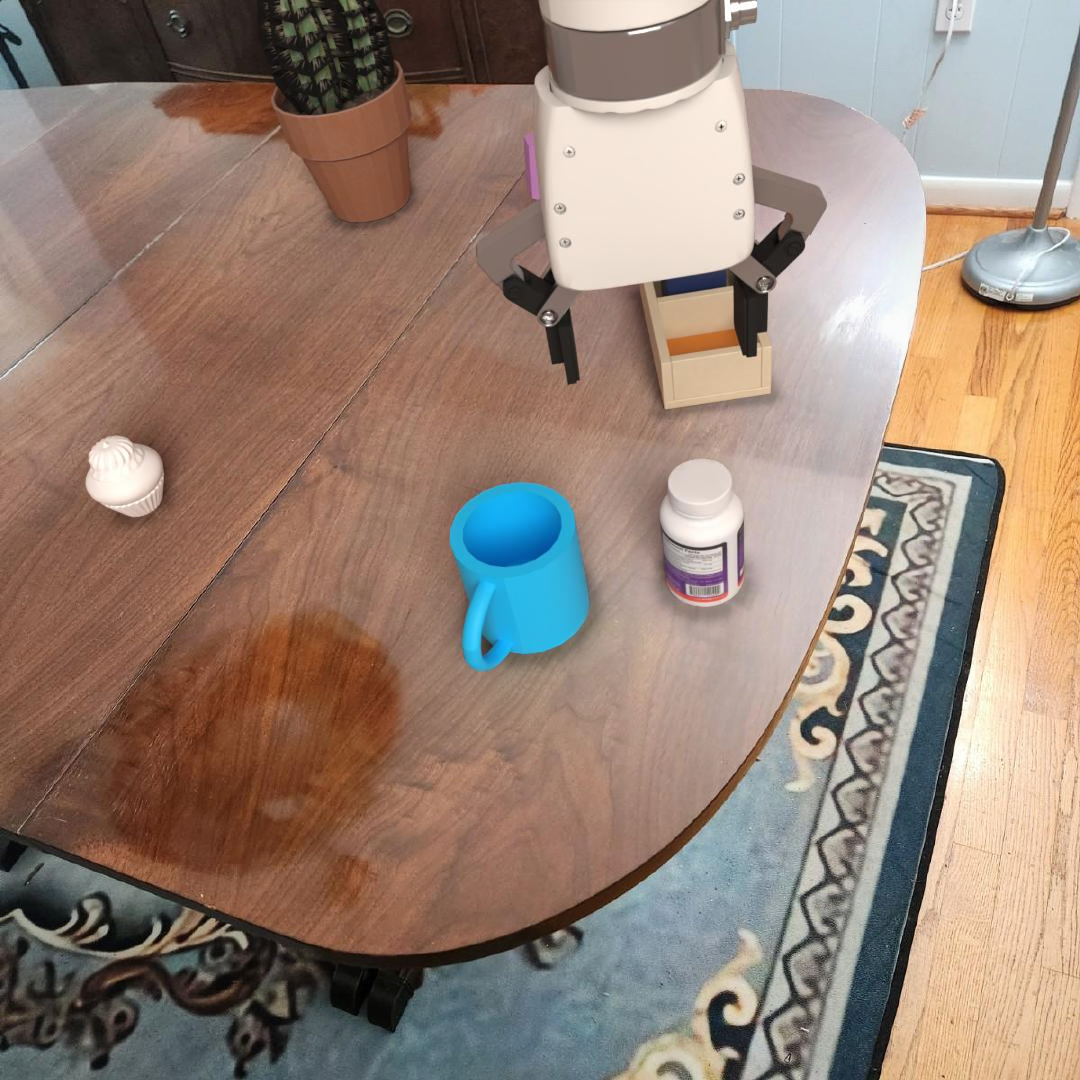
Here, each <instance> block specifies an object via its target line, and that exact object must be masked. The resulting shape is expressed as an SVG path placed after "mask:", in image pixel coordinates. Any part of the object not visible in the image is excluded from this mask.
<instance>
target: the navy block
mask: <svg viewBox="0 0 1080 1080" xmlns="http://www.w3.org/2000/svg"><path fill="white" fill-rule="evenodd" d="M722 287H727V279H726V269H723V270H719V271H714V272H709V273H703V274H697V275H690V276H684V277H678V278H672V279H665V280H661V290H662V297H665V296H671V295H678V294H684V293H690V292H697V291H703V290H709V289H715V288H722Z"/></svg>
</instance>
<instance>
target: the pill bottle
mask: <svg viewBox="0 0 1080 1080" xmlns="http://www.w3.org/2000/svg"><path fill="white" fill-rule="evenodd" d="M659 526H660V535H661V543H662V545H661V546H662V552H663V553H662V554H663V564H664V565H663V566H664V576H665V581H666V582H665V583H666V585H667V587H668V590H669V591H670V592H671V593H672V595H673V596H674V597H675V598H677V599H678V600H679V601H681V602H682V603H685V604H687V605H690V606H694V607H703V608H706V607H707V608H708V607H709V608H710V607H715V606H718V605H721V604H723V603H726V602H728V601H729V600H731V599H732V598H734V597H735V596H736V595H737V594H738V592H739V591H740V589H741V587H742V586H743V583H744V580H745V511H744V505H743V501H742V499H741V497H740V496H739V494H738V493H737V492H736V491H735V490H734V488H733V476H732V473H731V472H730V470H729V469H728V468H727V467H726V465H724V464H723V463H722V462H720V461H717V460H715V459H710V458H700V457H699V458H693V459H688V460H686V461H684V462H682V463H680V464H678V465H676V466H675V467H674V468H673V469H672V470H671V472H670V473H669V476H668V478H667V494H666V495H665V496H664V498H663V500H662V501H661V504H660V507H659Z"/></svg>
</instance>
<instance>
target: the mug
mask: <svg viewBox="0 0 1080 1080" xmlns="http://www.w3.org/2000/svg"><path fill="white" fill-rule="evenodd" d="M449 546H450V549H451V552H452V555H453V558H454V561H455V564H456V566H457V569H458V573H459V576H460V578H461V579H460V580H461V582H462V585H463V588H464V591H465V594H466V597H467V600H468V607H467V609H466V614H465V619H464V623H463V628H462V639H461V646H462V654H463V659H464V661H465V662H466V663H467V665H468V666H469V668H470V669H472V670H473V671H477V672H489V671H492V670H493V669H495V668H497V667H498V666H500V665H501V663H502V662H503V661H504V660H505V659H506V658H507V656H509V654H510V653H514V654H521V655H530V654H537V653H543V652H547V651H550V650H551V649H554V648H556V647H559V646H561V645H563V644H564V643H566V642H567V641H568V640H569V639H571V638H572V637H573V636H575V635H577V633H578V631H579V630H580V628H581V627H582V625H583V624H584V623H585V622H586V619H587V616H588V613H589V609H590V606H591V602H590V593H589V586H588V581H587V576H586V572H585V565H584V560H583V555H582V549H581V544H580V538H579V533H578V528H577V522H576V517H575V512H574V510H573V508H572V506H571V505H570V503H569V501H568V499H567V498H565V497H564V496H563V495H561V494H560V493H559V492H558V491H556V490H555V489H553V488H551V487H548V486H545V485H542V484H540V483H533V482H523V481H522V482H521V481H518V482H510V483H503V484H500V485H497V486H494V487H491V488H488V489H486V490H483V491H482V492H479V494H477V495H475V496H474V497H473V498H470V499H469V500H468V501H467V502H466V503H465V504H464V505H463V506H462V508H461V509H460V510H459V511H458V512H457V513H456V514H455V516H454V519H453V522H452V523H451V526H450V528H449ZM482 636H483V637H484V638H485V639H486V640H487V642H489V643H490V644H491V645H492V647H491V648H490V649H489V650H488V651H487V652H486V653H485V654H484V655H483V654H482Z"/></svg>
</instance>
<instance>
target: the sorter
mask: <svg viewBox="0 0 1080 1080" xmlns="http://www.w3.org/2000/svg"><path fill="white" fill-rule="evenodd" d="M726 279H727V287H722V288H715V289H709V290H703V291H697V292H690V293H684V294H678V295H671V296H665V297H662V290H661V280H659V281H653V282H647V283H640V284H638V287H639V294H640V299H641V300H640V301H641V304H642V308H643V313H644V314H643V315H644V317H645V324H646V329H647V332H648V336H649V342H650V347H651V351H652V355H653V357H652V358H653V361H654V362H653V363H654V367H655V369H656V370H655V371H656V375H657V380H658V386H659V389H660V390H659V391H660V394H661V400H662V403H663V409H664V410H665V411H666V410H671V409H678V408H686V407H693V406H697V405H698V406H699V405H704V404H705V405H706V404H712V403H718V402H725V401H733V400H739V399H745V398H753V397H758V396H765V395H770V394H772V368H773V345H772V341H771V339H770V336H769V333H768V331H767V332H763V333H757V356H756V357H749V358H747V357H746V355H745V356H743V355H742V351H741V348H740V345H739V341H738V338H737V335H736V331H735V328H734V302H733V272H732V271H731V270H730V269H728V268H727V269H726Z"/></svg>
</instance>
